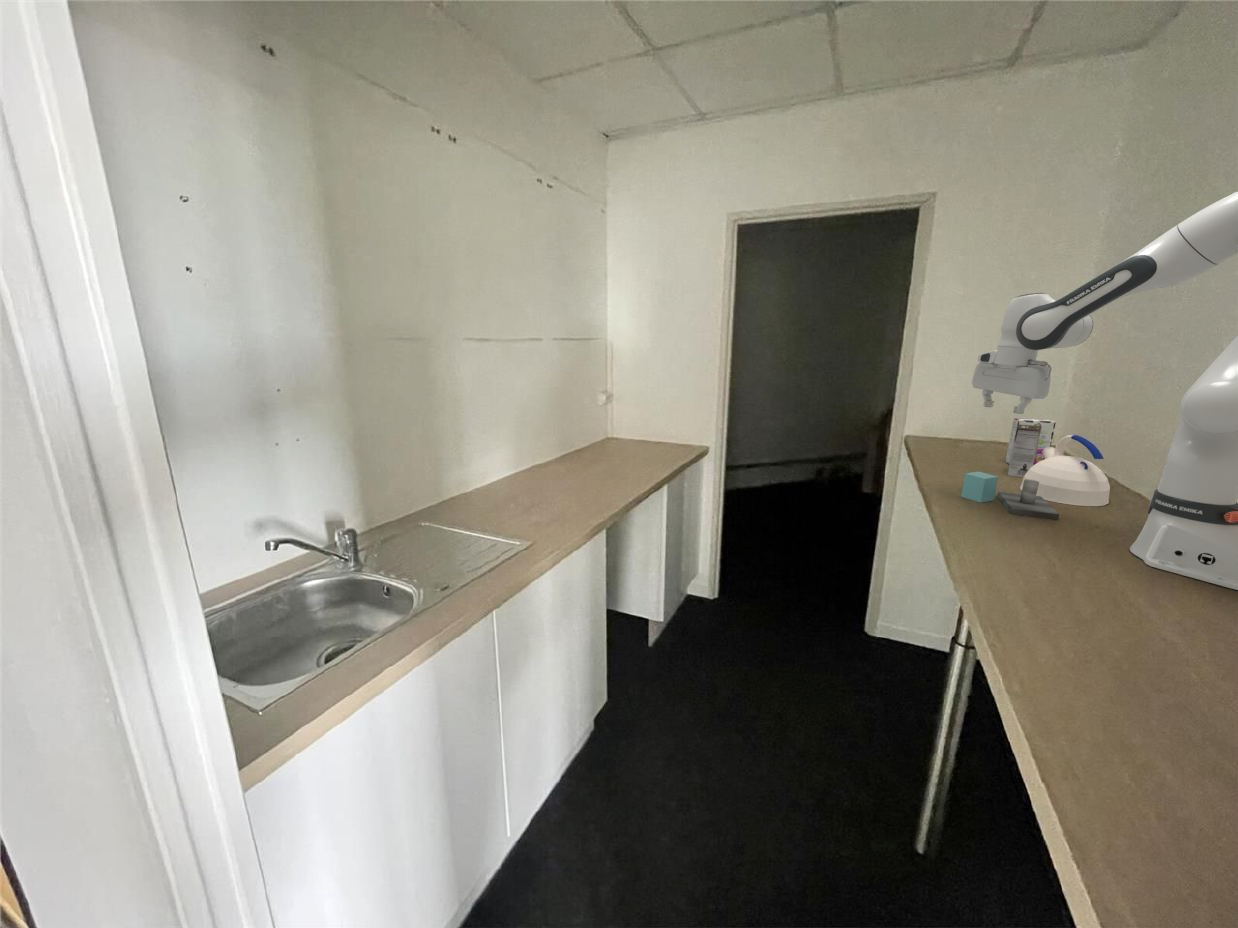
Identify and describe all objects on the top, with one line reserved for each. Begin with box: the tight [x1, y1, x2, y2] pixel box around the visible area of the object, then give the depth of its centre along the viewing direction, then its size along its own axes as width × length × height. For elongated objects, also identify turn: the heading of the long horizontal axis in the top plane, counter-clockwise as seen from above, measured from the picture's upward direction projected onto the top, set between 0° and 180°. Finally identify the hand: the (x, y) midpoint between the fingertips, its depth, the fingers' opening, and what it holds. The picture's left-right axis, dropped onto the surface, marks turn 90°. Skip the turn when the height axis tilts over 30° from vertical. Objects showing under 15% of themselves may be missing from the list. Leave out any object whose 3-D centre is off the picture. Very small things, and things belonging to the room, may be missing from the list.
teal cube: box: [960, 471, 999, 504], centre depth 148 cm, size 6×6×7 cm
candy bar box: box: [1005, 418, 1057, 466], centre depth 184 cm, size 11×5×16 cm, turn 73°
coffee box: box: [1007, 424, 1041, 478], centre depth 172 cm, size 9×6×16 cm
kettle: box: [1019, 434, 1111, 507], centre depth 151 cm, size 20×21×18 cm
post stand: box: [996, 479, 1060, 521], centre depth 141 cm, size 16×10×8 cm, turn 156°
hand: (1002, 410), depth 141 cm, fingers open, 8 cm apart
